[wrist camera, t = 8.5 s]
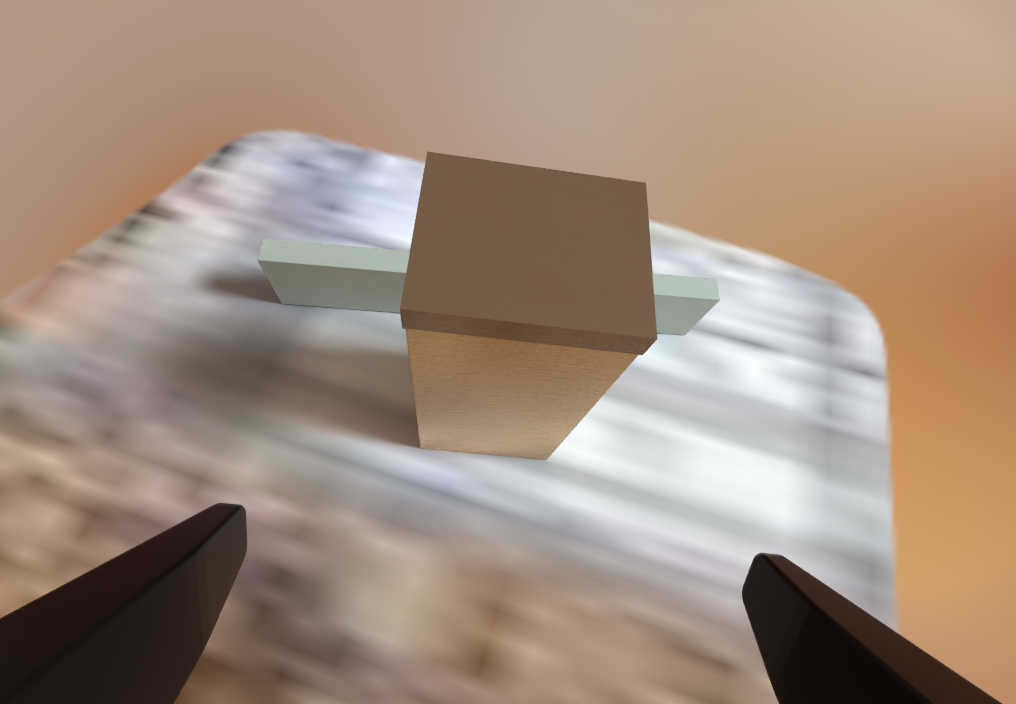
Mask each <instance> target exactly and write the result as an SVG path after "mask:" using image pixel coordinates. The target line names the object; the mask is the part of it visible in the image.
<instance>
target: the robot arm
mask: <svg viewBox="0 0 1016 704" xmlns="http://www.w3.org/2000/svg"><path fill="white" fill-rule="evenodd" d="M246 550H247V528H246V511H245V508H244V507H243V506H242V505H238V504H227V503H218V504H215V505H213V506H211V507H209V508H207V509H205V510H203V511H201V512H200V513H198V514H196V515H194V516H192V517H190V518H188V519H186V520H184V521H183V522H181V523H179V524H177V525H175V526H173V527H171V528H169V529H168V530H166V531H164V532H162V533H160V534H158V535H156V536H154V537H153V538H151V539H149V540H147V541H145V542H143V543H141V544H139V545H137V546H136V547H134V548H132V549H130V550H128V551H126V552H124V553H122V554H121V555H119V556H117V557H115V558H113V559H111V560H109V561H107V562H106V563H104V564H102V565H100V566H98V567H96V568H94V569H92V570H90V571H89V572H87V573H85V574H83V575H81V576H79V577H77V578H75V579H74V580H72V581H70V582H68V583H66V584H64V585H62V586H60V587H59V588H57V589H55V590H53V591H51V592H49V593H47V594H45V595H43V596H42V597H40V598H38V599H36V600H34V601H32V602H30V603H28V604H27V605H25V606H23V607H21V608H19V609H17V610H15V611H13V612H12V613H10V614H8V615H6V616H4V617H2V618H0V704H174V702H175V701H176V699H177V697H178V695H179V694H180V692H181V690H182V688H183V686H184V685H185V683H186V681H187V679H188V678H189V676H190V674H191V672H192V671H193V669H194V667H195V665H196V663H197V662H198V660H199V658H200V656H201V654H202V652H203V650H204V648H205V646H206V644H207V642H208V640H209V638H210V635H211V633H212V631H213V629H214V626H215V624H216V622H217V620H218V617H219V615H220V613H221V610H222V608H223V606H224V604H225V601H226V599H227V597H228V595H229V592H230V590H231V588H232V586H233V583H234V581H235V579H236V576H237V574H238V572H239V570H240V567H241V565H242V563H243V560H244V558H245V555H246ZM742 598H743V603H744V606H745V609H746V612H747V615H748V618H749V620H750V623H751V626H752V629H753V632H754V635H755V638H756V641H757V644H758V647H759V650H760V653H761V656H762V659H763V662H764V665H765V668H766V671H767V674H768V676H769V679H770V682H771V684H772V687H773V690H774V692H775V695H776V697H777V700H778V702H779V704H1002V703H1000V702H999V701H997V700H996V699H994V698H993V697H992V696H990V695H989V694H987V693H986V692H984V691H983V690H981V689H980V688H978V687H977V686H975V685H974V684H972V683H970V682H969V681H968V680H966V679H965V678H963V677H962V676H960V675H959V674H957V673H956V672H954V671H953V670H951V669H950V668H948V667H947V666H945V665H944V664H943V663H941V662H940V661H938V660H937V659H935V658H933V657H932V656H931V655H929V654H928V653H926V652H925V651H923V650H922V649H920V648H919V647H917V646H915V645H914V644H913V643H911V642H910V641H908V640H907V639H905V638H904V637H902V636H901V635H899V634H898V633H897V632H895V631H894V630H892V629H891V628H889V627H888V626H886V625H885V624H883V623H882V622H880V621H879V620H877V619H876V618H874V617H873V616H871V615H870V614H868V613H867V612H865V611H864V610H862V609H861V608H859V607H858V606H856V605H855V604H853V603H852V602H851V601H849V600H848V599H846V598H845V597H843V596H842V595H840V594H839V593H837V592H836V591H834V590H833V589H831V588H830V587H828V586H827V585H825V584H824V583H822V582H821V581H819V580H818V579H816V578H815V577H813V576H812V575H810V574H809V573H807V572H806V571H805V570H803V569H802V568H800V567H799V566H797V565H796V564H794V563H793V562H791V561H790V560H788V559H787V558H785V557H784V556H782V555H778V554H769V553H759V554H757V555H756V556H755V557H754V559H753V561H752V564H751V567H750V569H749V572H748V574H747V577H746V580H745V582H744V585H743V589H742Z"/></svg>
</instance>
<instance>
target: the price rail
mask: <svg viewBox="0 0 1016 704" xmlns="http://www.w3.org/2000/svg"><path fill="white" fill-rule="evenodd" d="M409 254H410V251H400V250H389V249H378V248H367V247H356V246H345V245H334V244H323V243H312V242H301V241H290V240H279V239H268V238H263V242H262V245H261V249H260V252H259V256H258V262H259V264H260V266H261V267H262V269H263V271H264V273H265V275H266V276H267V278H268V280H269V282H270V284H271V285H272V287H273V289H274V291H275V293H276V294H277V296H278V298H279V300H280V302H281V303H282V304H292V305H305V306H318V307H330V308H343V309H356V310H369V311H382V312H395V313H400V305H401V299H402V294H403V288H404V282H405V277H406V271H407V265H408V260H409ZM652 274H653V273H652ZM653 287H654V301H655V314H656V328H657V333H663V334H676V335H686V334H687V333H688V332H689V331H690V330H691V329H692V328H693V327H694V326H695V325H696V323H697V322H698V321H699V320H700V319H701V318H702V317H703V316H704V315H705V314H706V313H707V312H708V311H709V310H710V309H711V308H712V307H713V306H714V305H715V304H716V303H717V302H718V301H719V300H720V299H719V293H718V288H717V282H716V279H708V278H697V277H686V276H675V275H664V274H653Z"/></svg>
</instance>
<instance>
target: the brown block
mask: <svg viewBox="0 0 1016 704" xmlns="http://www.w3.org/2000/svg"><path fill="white" fill-rule="evenodd" d="M400 314H401V321H402V328H404V329H406V336H407V344H408V352H409V360H410V368H411V376H412V384H413V392H414V399H415V407H416V415H417V423H418V431H419V439H420V447H421V448H422V449H433V450H444V451H455V452H466V453H477V454H488V455H499V456H510V457H521V458H532V459H543V460H547V459H548V458H549V456H550V455H551V454H552V453H553V452H554V451H555V450H556V448H557V447H558V446H559V445H560V444H561V443H562V442H563V440H564V439H565V438H566V437H567V436H568V435H569V434H570V432H571V431H572V430H573V429H574V428H575V427H576V426H577V424H578V423H579V422H580V421H581V420H582V419H583V418H584V416H585V415H586V414H587V413H588V412H589V411H590V410H591V408H592V407H593V406H594V405H595V404H596V403H597V402H598V400H599V399H600V398H601V397H602V396H603V395H604V394H605V392H606V391H607V390H608V389H609V388H610V387H611V386H612V384H613V383H614V382H615V381H616V380H617V379H618V378H619V376H620V375H621V374H622V373H623V372H624V371H625V370H626V368H627V367H628V366H629V365H630V364H631V363H632V362H633V360H634V359H635V358H636V357H637V356H638V355H643V354H644V353H645V352H646V351H647V350H648V349H649V347H650V346H651V345H652V344H653V343H654V342H655V341H656V340H657V328H656V314H655V301H654V287H653V274H652V260H651V247H650V233H649V220H648V206H647V193H646V183H643V182H636V181H628V180H622V179H615V178H608V177H600V176H593V175H587V174H579V173H573V172H565V171H559V170H551V169H545V168H538V167H531V166H524V165H517V164H510V163H503V162H496V161H489V160H482V159H474V158H468V157H461V156H453V155H447V154H440V153H433V152H427V158H426V163H425V169H424V175H423V180H422V186H421V192H420V197H419V203H418V209H417V214H416V220H415V226H414V231H413V237H412V243H411V248H410V254H409V260H408V265H407V271H406V277H405V282H404V288H403V294H402V299H401V305H400Z"/></svg>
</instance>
